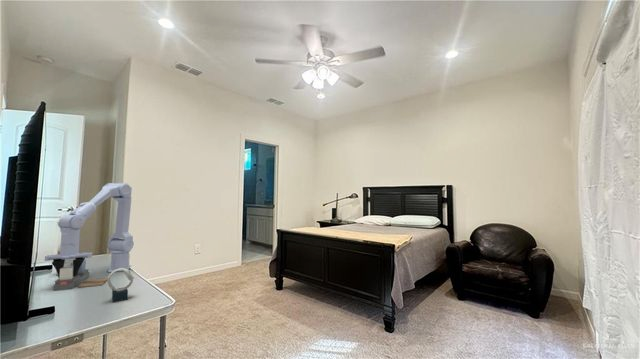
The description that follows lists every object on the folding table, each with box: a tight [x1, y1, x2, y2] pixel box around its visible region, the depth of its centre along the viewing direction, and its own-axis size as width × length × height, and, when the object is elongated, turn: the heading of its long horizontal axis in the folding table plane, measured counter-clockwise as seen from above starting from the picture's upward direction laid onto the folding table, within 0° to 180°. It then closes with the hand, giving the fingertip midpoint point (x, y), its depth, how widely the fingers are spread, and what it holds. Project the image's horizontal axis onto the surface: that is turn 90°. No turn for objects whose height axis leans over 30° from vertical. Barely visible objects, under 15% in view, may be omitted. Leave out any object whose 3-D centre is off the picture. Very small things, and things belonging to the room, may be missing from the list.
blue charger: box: [71, 259, 87, 273], centre depth 119 cm, size 4×4×6 cm
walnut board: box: [77, 277, 108, 289], centre depth 114 cm, size 9×8×1 cm
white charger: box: [58, 266, 75, 280], centre depth 110 cm, size 4×4×6 cm
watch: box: [106, 268, 135, 304], centre depth 99 cm, size 6×8×11 cm
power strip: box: [52, 268, 90, 292], centre depth 117 cm, size 24×6×4 cm, turn 24°
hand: (67, 276), depth 110 cm, fingers closed on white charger, 4 cm apart
